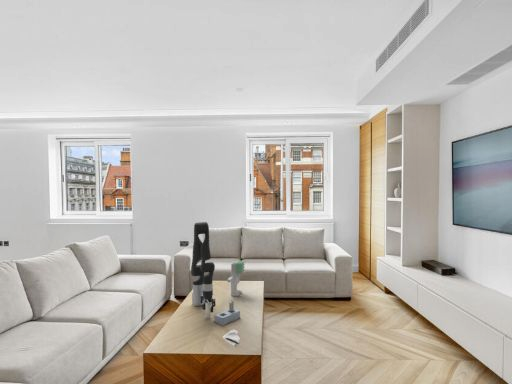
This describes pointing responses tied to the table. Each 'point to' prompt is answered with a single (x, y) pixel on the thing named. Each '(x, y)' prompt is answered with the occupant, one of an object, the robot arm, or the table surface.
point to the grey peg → (231, 306)
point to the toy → (235, 277)
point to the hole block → (226, 316)
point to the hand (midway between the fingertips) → (207, 310)
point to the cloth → (232, 337)
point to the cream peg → (207, 311)
